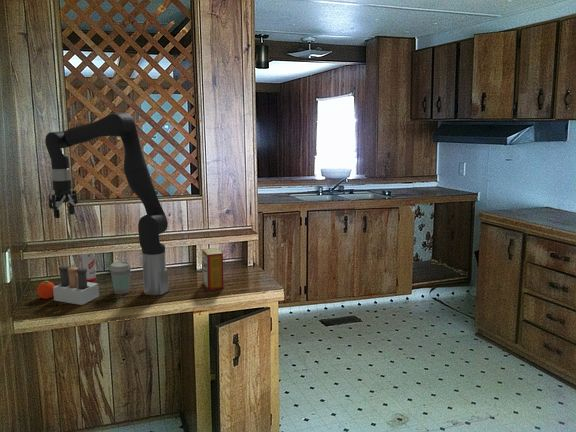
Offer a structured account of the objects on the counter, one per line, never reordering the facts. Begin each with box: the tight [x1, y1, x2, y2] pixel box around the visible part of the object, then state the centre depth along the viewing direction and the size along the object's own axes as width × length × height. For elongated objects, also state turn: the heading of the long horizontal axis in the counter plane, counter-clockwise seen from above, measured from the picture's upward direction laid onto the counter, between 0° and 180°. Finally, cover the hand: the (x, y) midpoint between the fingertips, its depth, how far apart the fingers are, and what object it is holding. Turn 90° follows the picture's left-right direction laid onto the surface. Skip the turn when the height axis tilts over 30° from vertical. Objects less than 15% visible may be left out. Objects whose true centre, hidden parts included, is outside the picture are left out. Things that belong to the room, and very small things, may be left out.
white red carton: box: [78, 252, 97, 283], centre depth 228 cm, size 6×6×16 cm
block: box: [53, 282, 100, 306], centre depth 210 cm, size 14×10×6 cm
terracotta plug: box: [68, 266, 79, 288], centre depth 208 cm, size 4×4×8 cm
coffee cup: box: [109, 261, 132, 295], centre depth 217 cm, size 8×8×12 cm
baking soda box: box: [201, 247, 224, 291], centre depth 225 cm, size 10×6×16 cm
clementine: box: [36, 280, 56, 300], centre depth 210 cm, size 8×7×7 cm
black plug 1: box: [58, 265, 70, 287], centre depth 209 cm, size 4×4×8 cm
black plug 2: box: [76, 268, 87, 290], centre depth 206 cm, size 4×4×8 cm
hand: (64, 216), depth 227 cm, fingers open, 8 cm apart
